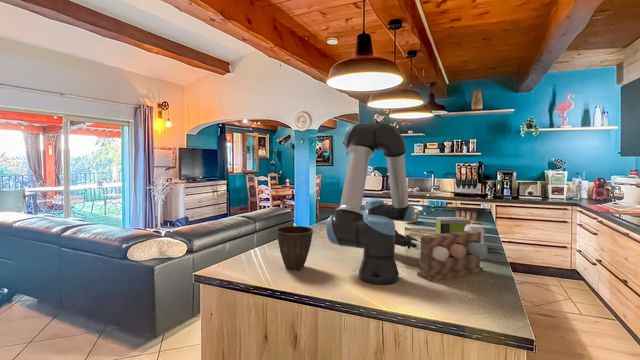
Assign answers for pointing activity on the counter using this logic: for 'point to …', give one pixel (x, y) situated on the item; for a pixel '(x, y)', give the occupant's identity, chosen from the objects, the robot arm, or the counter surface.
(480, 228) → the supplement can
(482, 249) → the slate button
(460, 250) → the terracotta long rounded piece
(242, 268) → the counter surface
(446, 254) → the ivory button
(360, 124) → the robot arm
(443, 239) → the brown wooden rectangular frame
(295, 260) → the plant pot
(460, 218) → the tea box
